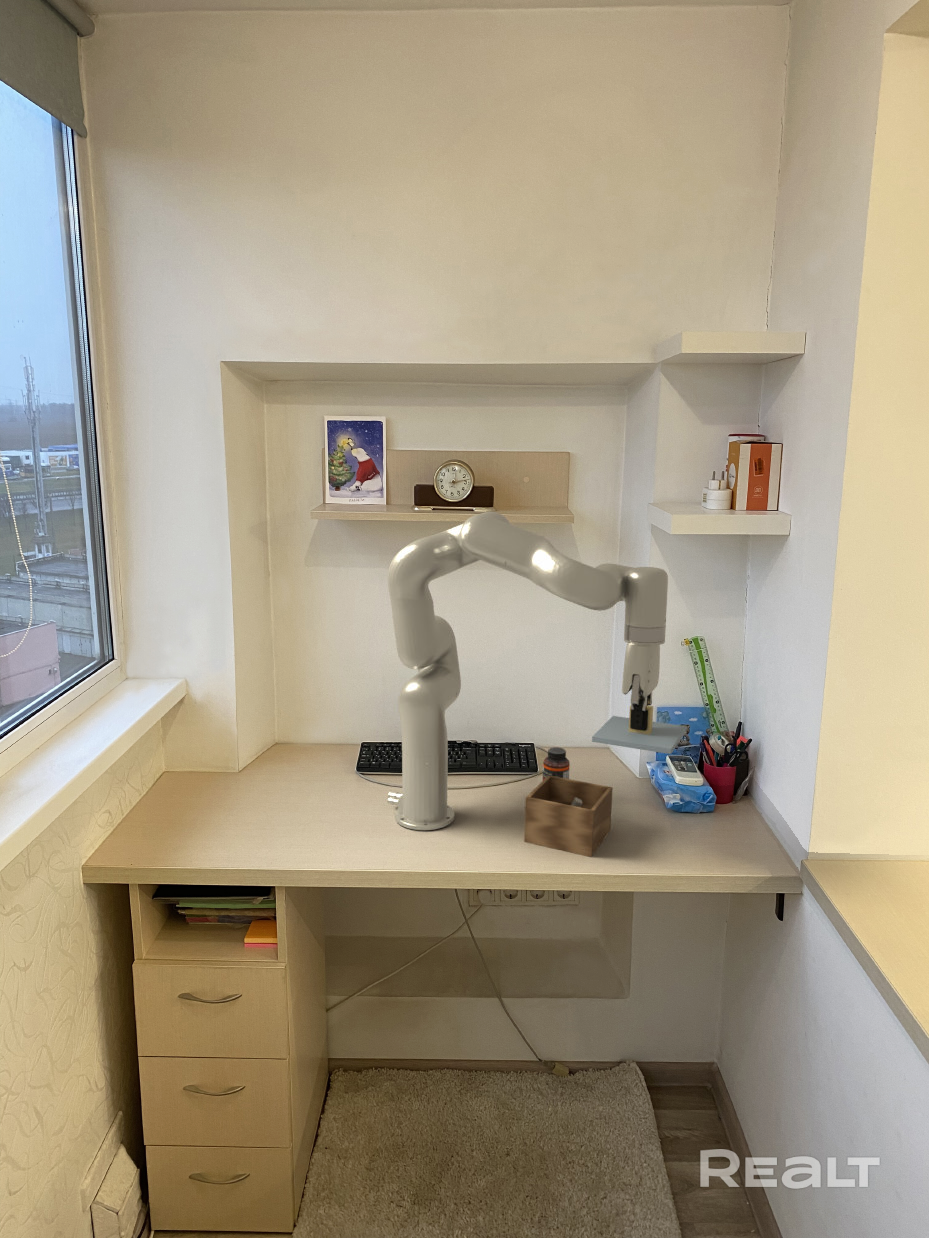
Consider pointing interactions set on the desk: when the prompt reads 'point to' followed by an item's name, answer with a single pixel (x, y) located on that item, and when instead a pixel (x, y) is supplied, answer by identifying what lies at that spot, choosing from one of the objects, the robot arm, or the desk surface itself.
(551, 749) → the supplement bottle
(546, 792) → the box
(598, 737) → the lid
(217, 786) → the desk surface
